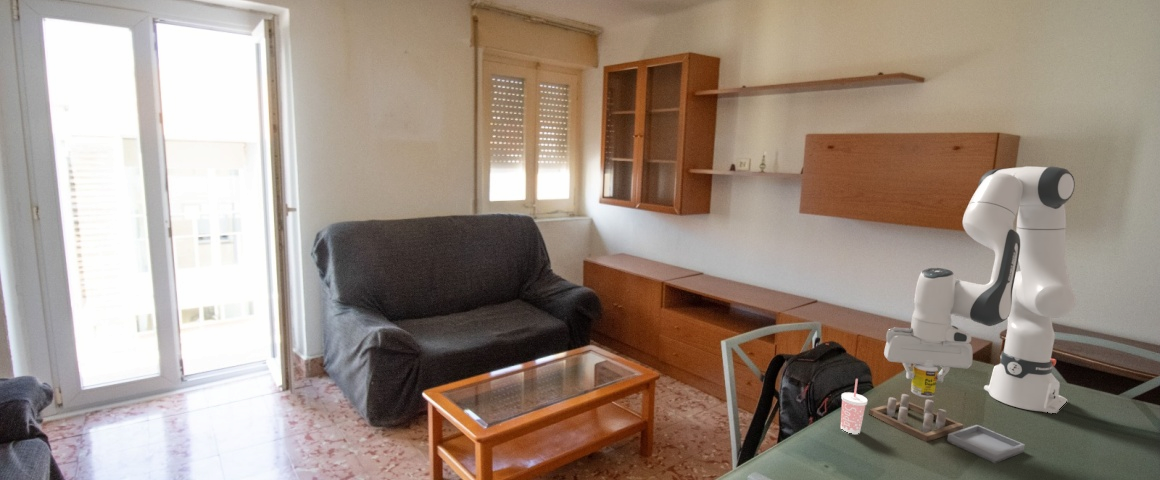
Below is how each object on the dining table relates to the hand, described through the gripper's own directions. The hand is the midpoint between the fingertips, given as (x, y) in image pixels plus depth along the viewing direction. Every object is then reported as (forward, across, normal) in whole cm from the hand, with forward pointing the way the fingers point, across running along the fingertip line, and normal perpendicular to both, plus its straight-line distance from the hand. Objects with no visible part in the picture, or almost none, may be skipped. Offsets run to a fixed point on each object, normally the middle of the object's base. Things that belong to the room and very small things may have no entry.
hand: (924, 379), depth 151 cm
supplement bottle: (+4, 0, 0) cm, 4 cm away
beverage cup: (+12, -20, -10) cm, 25 cm away
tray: (+13, +12, -9) cm, 20 cm away
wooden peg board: (+12, -1, 0) cm, 12 cm away
